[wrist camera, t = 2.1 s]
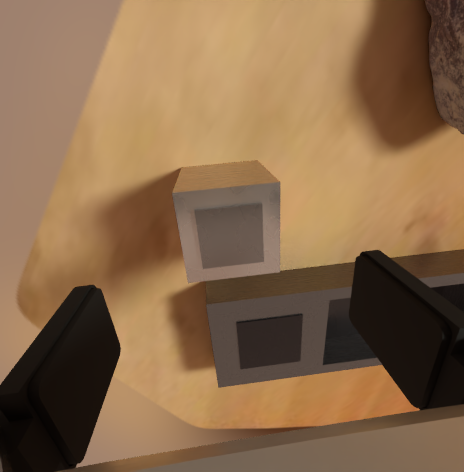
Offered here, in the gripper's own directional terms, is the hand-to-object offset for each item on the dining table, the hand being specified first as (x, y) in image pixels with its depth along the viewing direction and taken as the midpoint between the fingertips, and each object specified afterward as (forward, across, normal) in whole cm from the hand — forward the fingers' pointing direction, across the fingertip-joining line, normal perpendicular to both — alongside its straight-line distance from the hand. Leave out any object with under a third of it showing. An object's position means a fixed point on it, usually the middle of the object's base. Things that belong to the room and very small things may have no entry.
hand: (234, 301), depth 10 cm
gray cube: (+10, 0, -1) cm, 10 cm away
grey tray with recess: (+10, -9, +10) cm, 17 cm away
